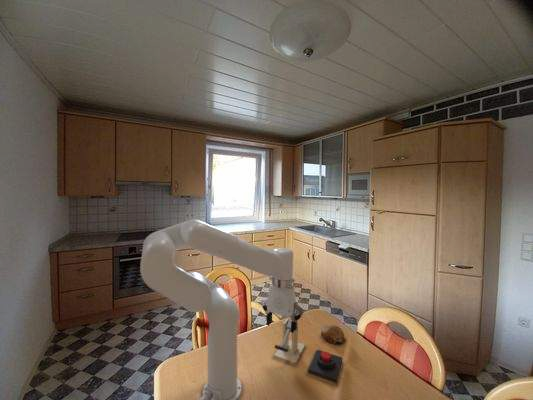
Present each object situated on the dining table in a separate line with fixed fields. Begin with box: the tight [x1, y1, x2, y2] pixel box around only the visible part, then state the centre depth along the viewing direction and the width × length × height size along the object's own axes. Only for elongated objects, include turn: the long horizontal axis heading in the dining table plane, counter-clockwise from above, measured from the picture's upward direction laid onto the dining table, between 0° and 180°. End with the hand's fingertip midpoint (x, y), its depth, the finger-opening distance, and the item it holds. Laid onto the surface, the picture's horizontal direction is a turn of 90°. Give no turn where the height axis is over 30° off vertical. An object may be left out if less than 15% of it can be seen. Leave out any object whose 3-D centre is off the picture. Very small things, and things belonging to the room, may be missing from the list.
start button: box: [321, 351, 331, 363], centre depth 86 cm, size 4×4×2 cm
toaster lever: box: [274, 320, 292, 352], centre depth 90 cm, size 12×5×2 cm, turn 153°
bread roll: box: [320, 323, 345, 346], centre depth 103 cm, size 10×10×8 cm
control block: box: [307, 349, 343, 386], centre depth 86 cm, size 12×10×4 cm
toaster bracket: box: [273, 317, 306, 364], centre depth 94 cm, size 12×9×13 cm
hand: (281, 327), depth 86 cm, fingers open, 9 cm apart
